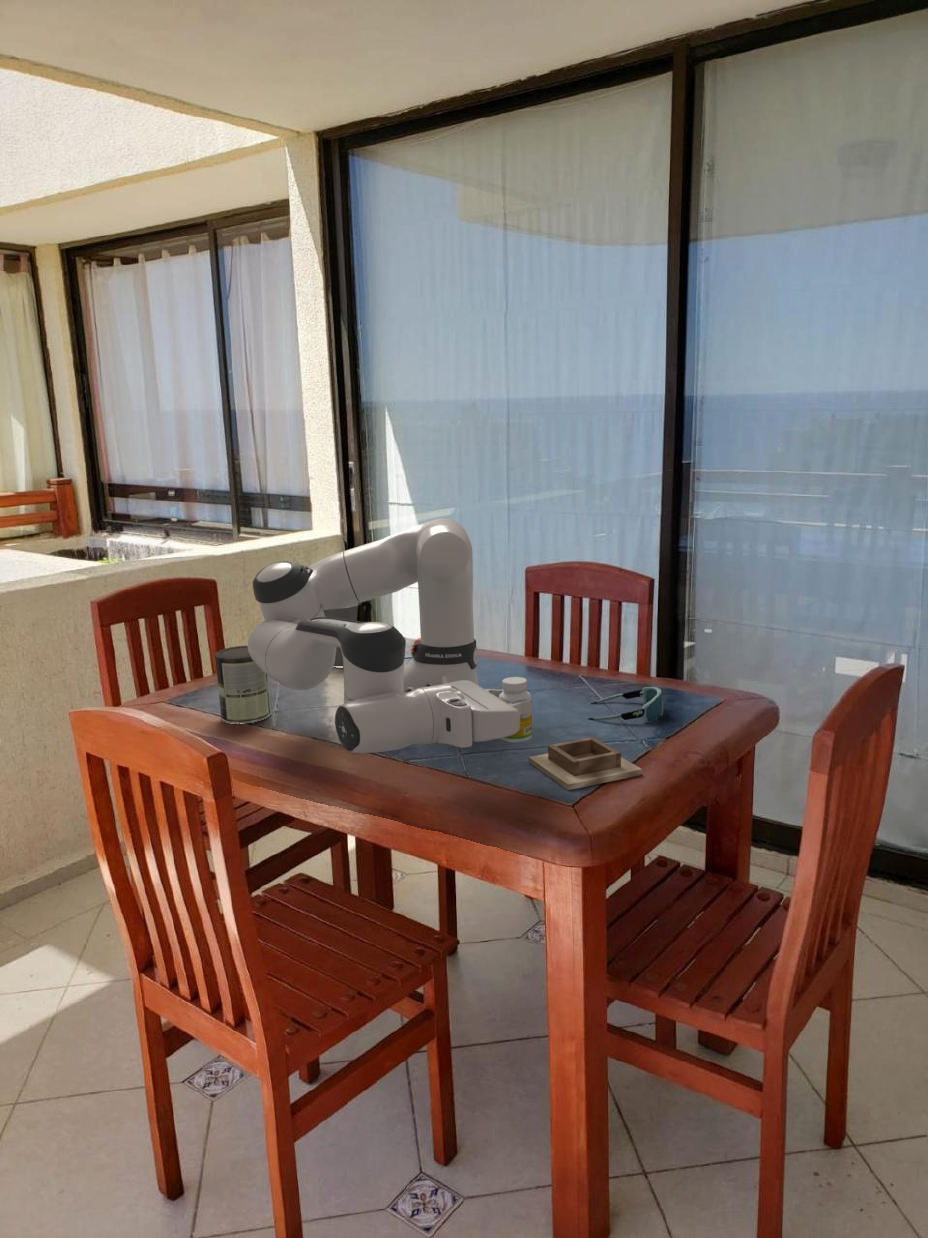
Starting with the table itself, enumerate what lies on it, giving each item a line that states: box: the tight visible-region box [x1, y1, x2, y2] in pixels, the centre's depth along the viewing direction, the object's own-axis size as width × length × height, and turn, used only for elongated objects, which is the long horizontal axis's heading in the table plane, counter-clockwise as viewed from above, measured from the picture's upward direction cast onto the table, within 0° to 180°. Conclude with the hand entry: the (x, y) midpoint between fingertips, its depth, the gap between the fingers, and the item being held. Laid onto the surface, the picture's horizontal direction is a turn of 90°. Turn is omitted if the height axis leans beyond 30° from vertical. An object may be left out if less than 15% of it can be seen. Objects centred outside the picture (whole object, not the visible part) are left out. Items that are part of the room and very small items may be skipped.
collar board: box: [528, 736, 643, 791], centre depth 159 cm, size 14×14×4 cm
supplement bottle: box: [499, 676, 533, 743], centre depth 151 cm, size 5×5×10 cm
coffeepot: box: [323, 600, 373, 666], centre depth 232 cm, size 15×9×18 cm, turn 125°
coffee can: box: [214, 645, 272, 724], centre depth 192 cm, size 10×10×14 cm
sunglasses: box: [587, 686, 664, 723], centre depth 188 cm, size 14×15×5 cm
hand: (520, 699), depth 151 cm, fingers closed on supplement bottle, 5 cm apart
